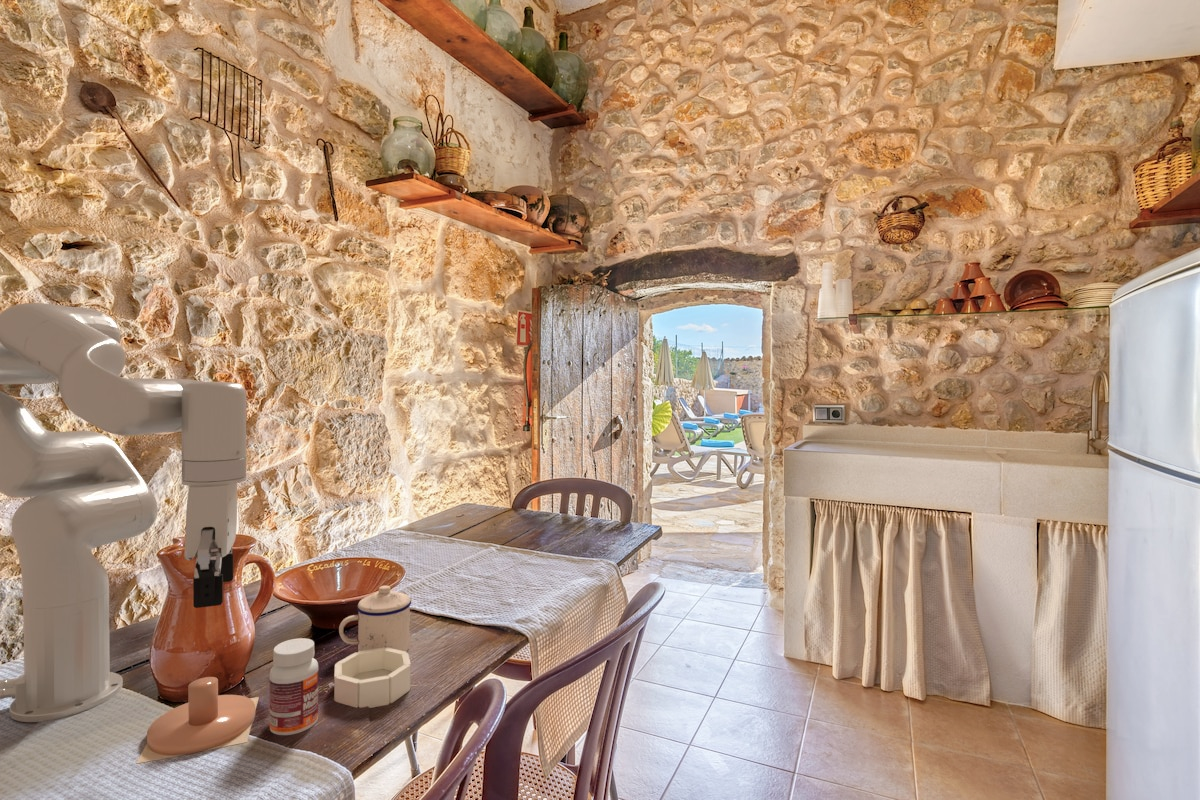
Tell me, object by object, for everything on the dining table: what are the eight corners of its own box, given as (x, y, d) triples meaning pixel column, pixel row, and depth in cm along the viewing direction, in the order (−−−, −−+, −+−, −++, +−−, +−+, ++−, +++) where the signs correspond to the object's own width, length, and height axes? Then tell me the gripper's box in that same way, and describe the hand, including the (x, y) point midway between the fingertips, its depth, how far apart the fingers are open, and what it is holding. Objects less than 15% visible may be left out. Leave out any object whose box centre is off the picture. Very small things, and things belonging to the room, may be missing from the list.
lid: (133, 764, 74) (133, 716, 74) (161, 712, 85) (161, 670, 85) (248, 742, 79) (248, 696, 78) (260, 696, 90) (260, 655, 90)
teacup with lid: (405, 636, 113) (405, 575, 112) (415, 656, 105) (416, 591, 104) (336, 649, 107) (336, 585, 106) (341, 671, 99) (342, 602, 98)
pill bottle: (312, 735, 81) (312, 654, 81) (263, 740, 80) (263, 657, 79) (322, 710, 87) (323, 634, 87) (276, 715, 86) (277, 638, 85)
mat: (136, 766, 74) (136, 763, 74) (163, 715, 85) (163, 712, 85) (246, 744, 79) (246, 742, 79) (258, 699, 90) (258, 696, 90)
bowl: (333, 714, 86) (334, 687, 86) (335, 679, 96) (335, 654, 96) (412, 699, 91) (413, 674, 90) (405, 667, 101) (406, 644, 100)
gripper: (194, 463, 88) (194, 576, 89) (166, 483, 72) (166, 621, 73) (253, 461, 91) (252, 571, 92) (238, 480, 76) (237, 612, 76)
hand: (214, 593), depth 82 cm, fingers open, 9 cm apart
